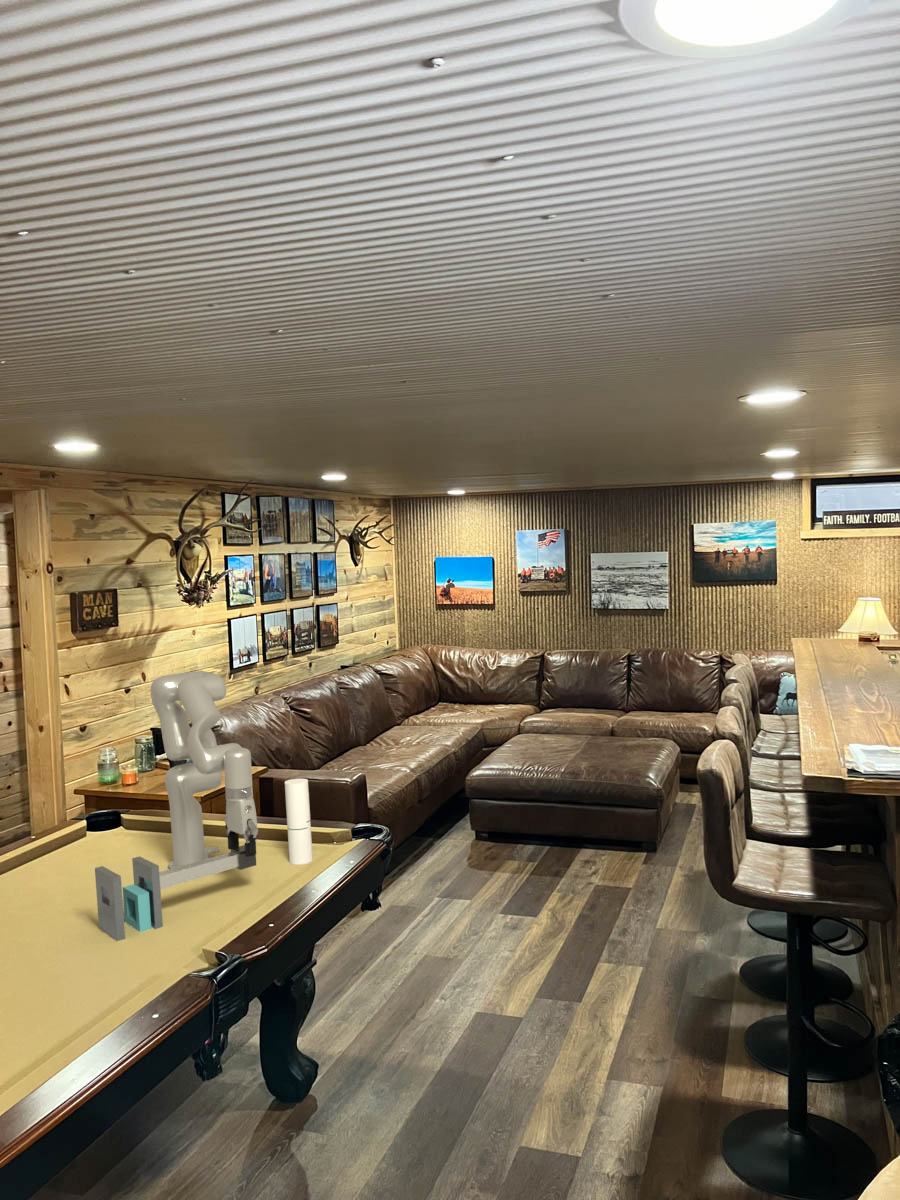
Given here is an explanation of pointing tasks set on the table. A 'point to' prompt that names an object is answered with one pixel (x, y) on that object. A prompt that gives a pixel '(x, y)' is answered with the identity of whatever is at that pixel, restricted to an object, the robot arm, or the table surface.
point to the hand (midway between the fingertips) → (242, 851)
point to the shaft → (205, 868)
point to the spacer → (137, 907)
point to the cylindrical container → (298, 821)
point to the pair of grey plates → (112, 896)
